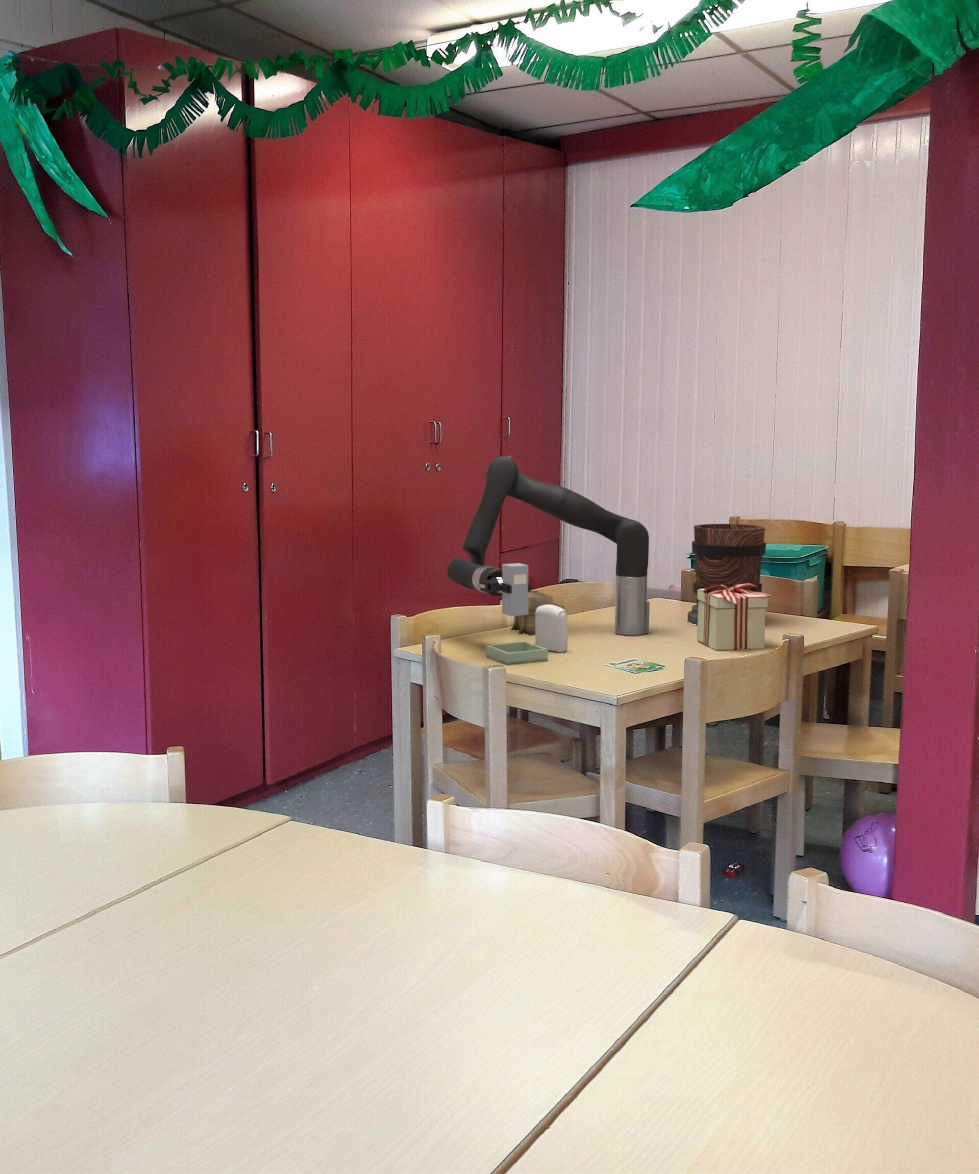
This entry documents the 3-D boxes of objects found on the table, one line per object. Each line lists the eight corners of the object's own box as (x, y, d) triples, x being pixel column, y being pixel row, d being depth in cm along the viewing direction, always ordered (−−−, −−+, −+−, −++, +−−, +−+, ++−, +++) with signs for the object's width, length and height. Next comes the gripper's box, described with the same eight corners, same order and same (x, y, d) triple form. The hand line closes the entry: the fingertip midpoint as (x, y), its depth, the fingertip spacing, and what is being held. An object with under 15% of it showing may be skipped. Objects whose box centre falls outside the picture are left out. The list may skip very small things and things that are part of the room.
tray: (525, 652, 292) (525, 641, 292) (547, 660, 282) (547, 649, 281) (486, 656, 287) (486, 645, 286) (507, 665, 276) (507, 653, 276)
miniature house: (526, 637, 314) (526, 598, 312) (507, 629, 327) (508, 591, 325) (573, 633, 319) (573, 595, 318) (552, 625, 332) (553, 589, 331)
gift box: (722, 654, 290) (724, 590, 287) (691, 641, 307) (693, 581, 305) (779, 650, 294) (781, 588, 292) (745, 638, 312) (747, 579, 309)
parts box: (519, 611, 286) (519, 563, 284) (528, 614, 282) (528, 565, 280) (502, 613, 284) (502, 564, 282) (511, 616, 280) (511, 566, 278)
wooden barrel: (674, 624, 334) (677, 527, 329) (714, 611, 357) (716, 520, 353) (747, 632, 320) (751, 531, 316) (783, 618, 344) (787, 524, 340)
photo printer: (532, 647, 298) (532, 603, 297) (544, 645, 301) (544, 602, 299) (558, 653, 291) (558, 608, 289) (569, 651, 293) (570, 606, 291)
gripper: (466, 568, 291) (495, 576, 276) (513, 565, 297) (544, 572, 282) (467, 596, 292) (495, 605, 277) (513, 592, 298) (544, 601, 283)
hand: (520, 588), depth 280 cm, fingers closed on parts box, 5 cm apart
